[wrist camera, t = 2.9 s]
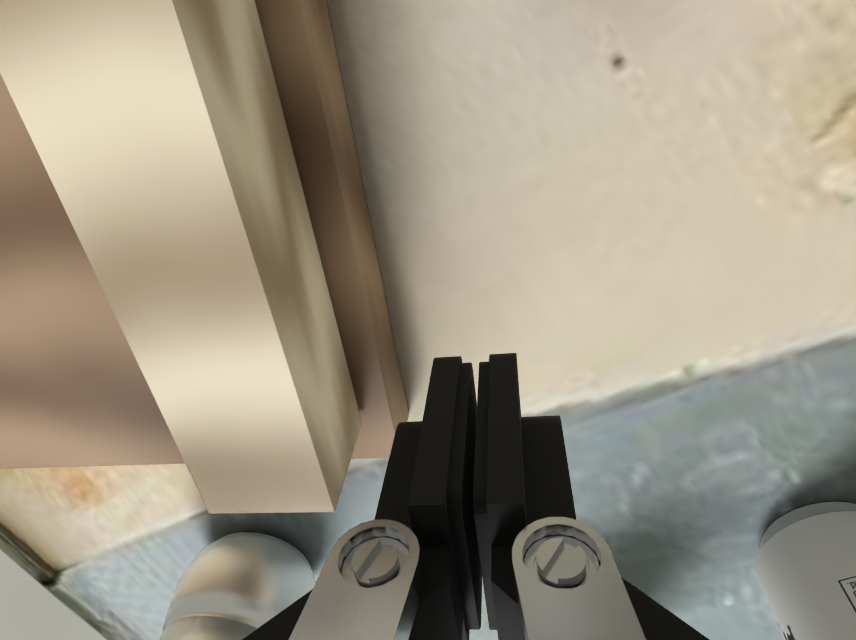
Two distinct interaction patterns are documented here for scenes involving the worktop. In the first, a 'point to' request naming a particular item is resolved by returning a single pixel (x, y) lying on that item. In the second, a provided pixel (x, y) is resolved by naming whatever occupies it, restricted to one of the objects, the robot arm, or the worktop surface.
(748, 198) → the worktop surface
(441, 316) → the worktop surface
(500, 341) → the worktop surface
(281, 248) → the folding leg
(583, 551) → the robot arm
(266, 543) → the plastic bottle
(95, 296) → the stool seat
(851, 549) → the energy drink can
